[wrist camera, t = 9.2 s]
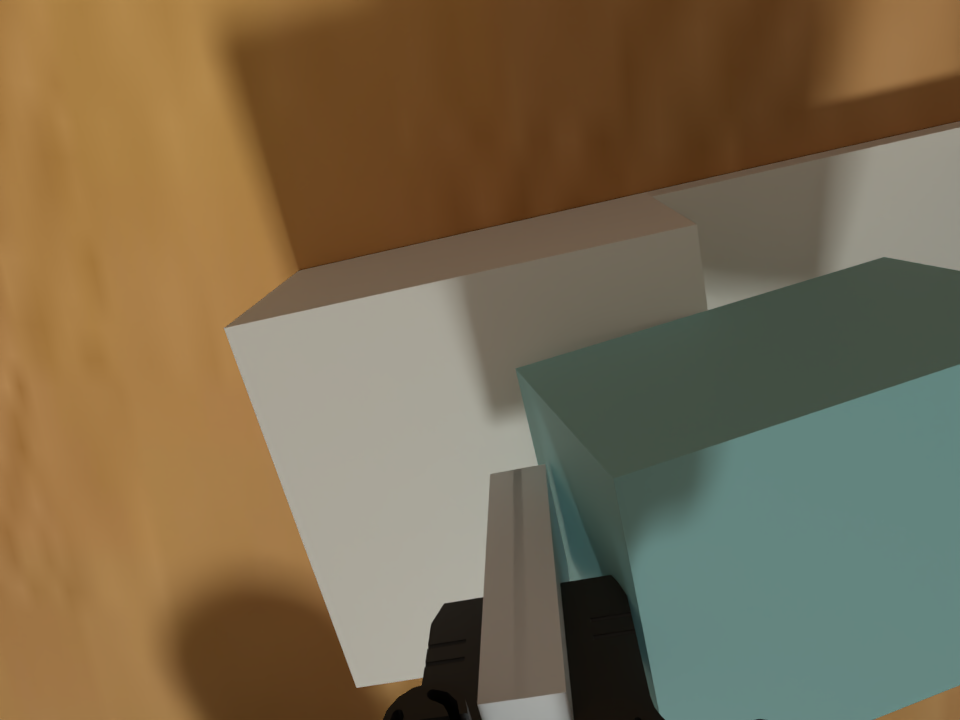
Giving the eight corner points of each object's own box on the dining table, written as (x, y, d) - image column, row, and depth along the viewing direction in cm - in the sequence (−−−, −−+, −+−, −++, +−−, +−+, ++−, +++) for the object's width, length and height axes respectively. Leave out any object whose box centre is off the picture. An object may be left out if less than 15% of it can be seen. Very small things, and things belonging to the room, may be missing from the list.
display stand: (390, 557, 28) (286, 956, 15) (298, 270, 24) (45, 466, 11) (995, 452, 25) (1517, 820, 12) (1000, 112, 22) (1773, 117, 8)
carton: (571, 605, 19) (676, 798, 13) (515, 368, 17) (613, 478, 11) (894, 491, 20) (1116, 622, 14) (883, 256, 18) (1141, 304, 12)
